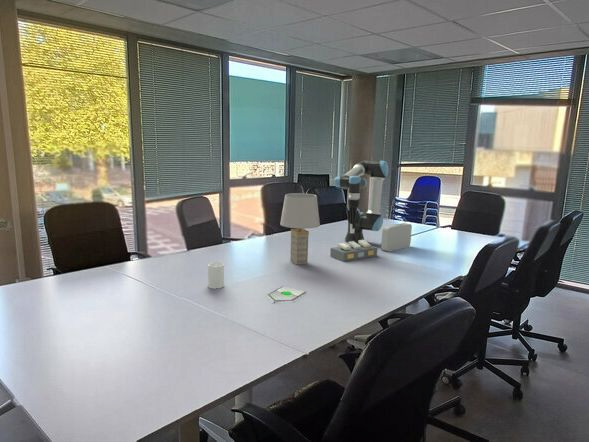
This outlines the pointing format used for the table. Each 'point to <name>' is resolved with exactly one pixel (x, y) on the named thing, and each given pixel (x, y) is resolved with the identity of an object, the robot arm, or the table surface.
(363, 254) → the switch unit
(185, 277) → the table surface
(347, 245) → the rocker
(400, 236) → the rounded white slab
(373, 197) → the robot arm
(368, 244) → the rocker
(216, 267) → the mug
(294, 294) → the security device
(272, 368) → the table surface
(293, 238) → the lamp
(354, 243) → the rocker
